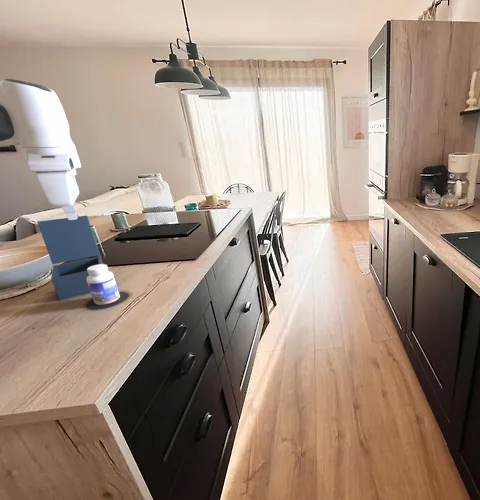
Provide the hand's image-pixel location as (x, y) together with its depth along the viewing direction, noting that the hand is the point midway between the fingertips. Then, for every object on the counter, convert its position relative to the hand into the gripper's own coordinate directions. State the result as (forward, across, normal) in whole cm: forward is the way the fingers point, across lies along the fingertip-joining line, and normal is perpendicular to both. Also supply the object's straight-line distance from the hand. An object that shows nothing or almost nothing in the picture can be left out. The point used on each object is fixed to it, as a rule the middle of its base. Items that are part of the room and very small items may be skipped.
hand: (73, 218), depth 71 cm
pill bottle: (+22, +5, +2) cm, 22 cm away
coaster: (+22, +5, +2) cm, 23 cm away
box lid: (+9, -16, -4) cm, 19 cm away
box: (+22, -9, -3) cm, 24 cm away
